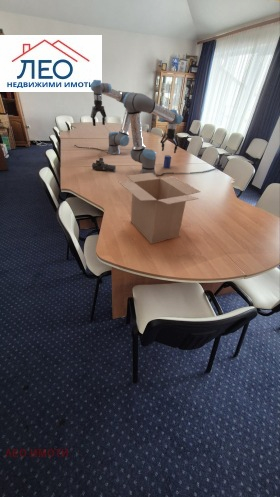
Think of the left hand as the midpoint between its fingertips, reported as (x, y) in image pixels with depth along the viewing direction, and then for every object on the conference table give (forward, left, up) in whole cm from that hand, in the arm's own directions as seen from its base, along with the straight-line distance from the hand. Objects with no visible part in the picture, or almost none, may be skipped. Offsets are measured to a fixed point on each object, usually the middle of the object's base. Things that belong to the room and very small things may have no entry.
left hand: (99, 125), depth 223 cm
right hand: (+67, +29, -18) cm, 76 cm away
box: (+123, -87, -34) cm, 154 cm away
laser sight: (+28, -26, -34) cm, 50 cm away
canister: (+67, +29, -34) cm, 81 cm away
